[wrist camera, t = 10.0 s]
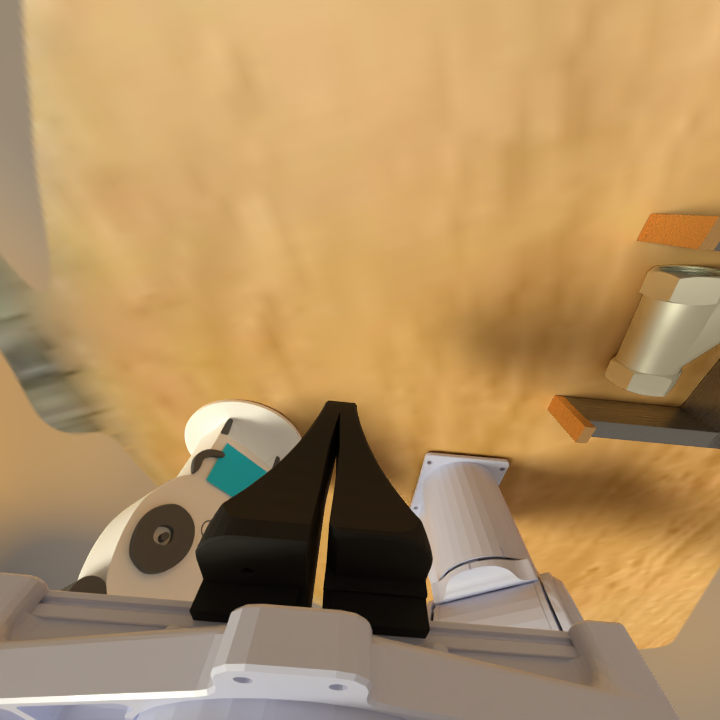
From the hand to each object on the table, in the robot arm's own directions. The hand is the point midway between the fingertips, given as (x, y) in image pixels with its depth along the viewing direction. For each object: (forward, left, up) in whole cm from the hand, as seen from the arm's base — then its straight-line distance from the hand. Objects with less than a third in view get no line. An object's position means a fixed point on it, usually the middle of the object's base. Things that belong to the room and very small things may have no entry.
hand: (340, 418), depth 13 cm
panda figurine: (-13, +9, -10) cm, 18 cm away
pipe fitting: (+4, -22, -10) cm, 25 cm away
